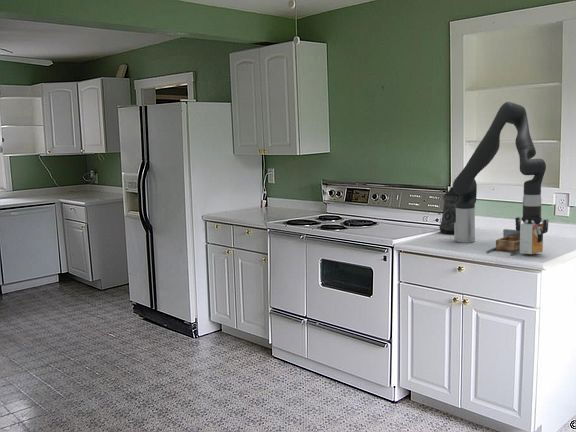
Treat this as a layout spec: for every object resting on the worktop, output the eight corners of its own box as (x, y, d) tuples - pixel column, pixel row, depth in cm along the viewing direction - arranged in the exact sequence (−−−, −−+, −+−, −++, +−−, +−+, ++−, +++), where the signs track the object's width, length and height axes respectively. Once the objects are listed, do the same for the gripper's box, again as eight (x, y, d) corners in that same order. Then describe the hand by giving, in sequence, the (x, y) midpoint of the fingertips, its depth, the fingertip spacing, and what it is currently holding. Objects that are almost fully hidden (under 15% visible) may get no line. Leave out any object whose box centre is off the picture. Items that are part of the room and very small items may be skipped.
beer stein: (450, 228, 337) (449, 185, 334) (481, 232, 323) (480, 186, 319) (433, 233, 326) (432, 188, 323) (464, 236, 312) (463, 189, 308)
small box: (531, 254, 256) (532, 225, 254) (519, 252, 262) (519, 223, 260) (543, 251, 261) (543, 223, 259) (530, 249, 266) (530, 221, 264)
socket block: (495, 250, 273) (495, 240, 273) (507, 246, 282) (507, 235, 281) (516, 252, 266) (516, 242, 266) (527, 248, 274) (528, 237, 274)
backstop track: (484, 253, 270) (484, 235, 269) (505, 245, 284) (505, 229, 283) (514, 256, 260) (514, 238, 259) (534, 248, 274) (534, 231, 273)
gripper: (552, 204, 256) (551, 241, 258) (519, 202, 266) (519, 238, 268) (544, 206, 250) (544, 244, 253) (512, 204, 261) (511, 241, 263)
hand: (531, 241), depth 260 cm, fingers closed on small box, 7 cm apart
